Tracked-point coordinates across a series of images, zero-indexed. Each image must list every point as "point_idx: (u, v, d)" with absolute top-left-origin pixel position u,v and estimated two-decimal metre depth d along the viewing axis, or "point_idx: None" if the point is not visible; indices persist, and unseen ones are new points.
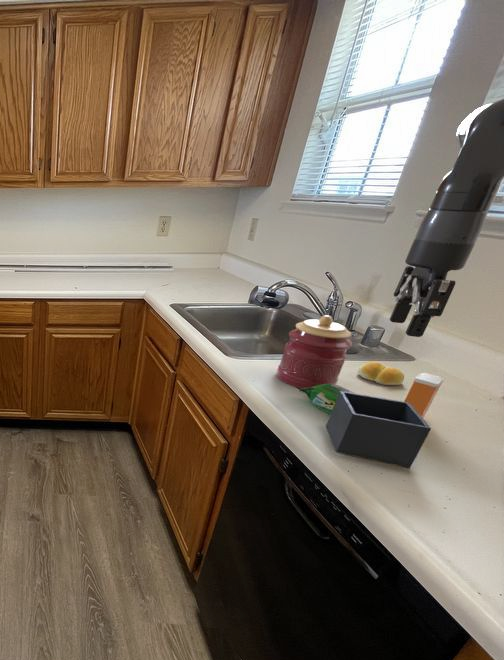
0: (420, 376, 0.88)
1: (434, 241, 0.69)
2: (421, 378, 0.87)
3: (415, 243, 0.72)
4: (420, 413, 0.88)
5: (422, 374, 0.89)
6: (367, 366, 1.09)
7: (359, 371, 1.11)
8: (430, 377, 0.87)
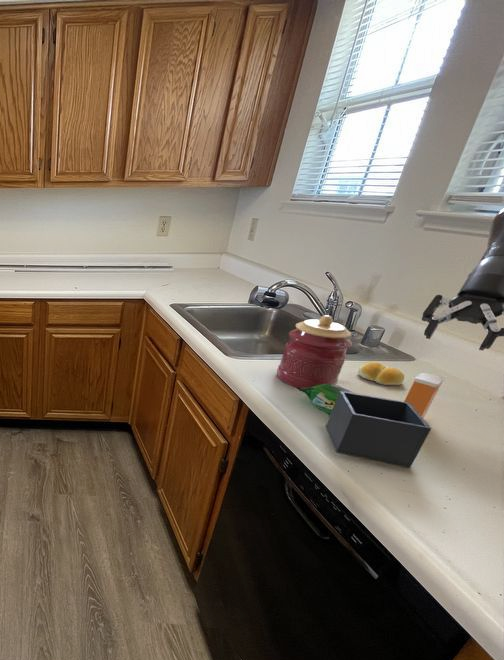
0: (420, 376, 0.88)
1: None
2: (421, 378, 0.87)
3: (495, 276, 0.89)
4: (420, 413, 0.88)
5: (422, 374, 0.89)
6: (367, 366, 1.09)
7: (359, 371, 1.11)
8: (430, 377, 0.87)
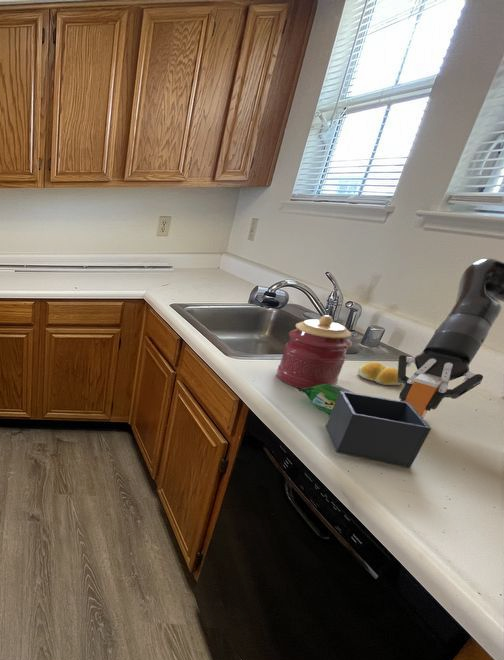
0: (420, 376, 0.88)
1: (477, 339, 0.86)
2: (421, 378, 0.87)
3: (460, 335, 0.87)
4: (420, 413, 0.88)
5: (422, 374, 0.89)
6: (367, 366, 1.09)
7: (359, 371, 1.11)
8: (430, 377, 0.87)
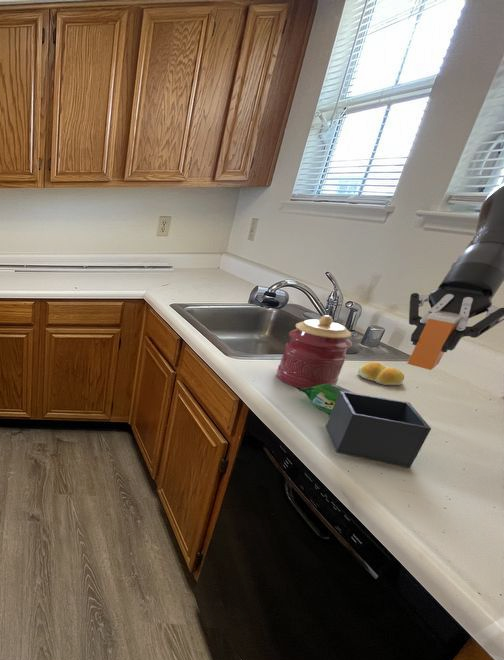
0: (435, 313, 0.77)
1: (501, 270, 0.75)
2: (437, 315, 0.76)
3: (481, 265, 0.76)
4: (435, 355, 0.77)
5: (438, 311, 0.78)
6: (367, 366, 1.09)
7: (359, 371, 1.11)
8: (447, 314, 0.77)
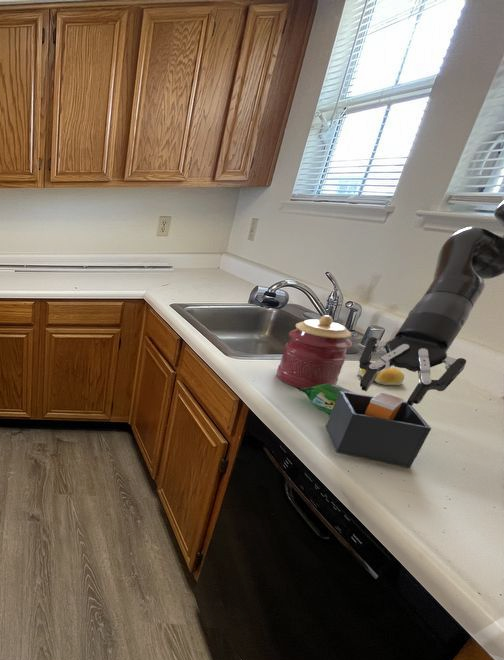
0: (377, 397, 0.78)
1: (456, 321, 0.74)
2: (378, 400, 0.77)
3: (436, 316, 0.74)
4: None
5: (380, 394, 0.79)
6: None
7: (359, 371, 1.11)
8: (388, 398, 0.78)
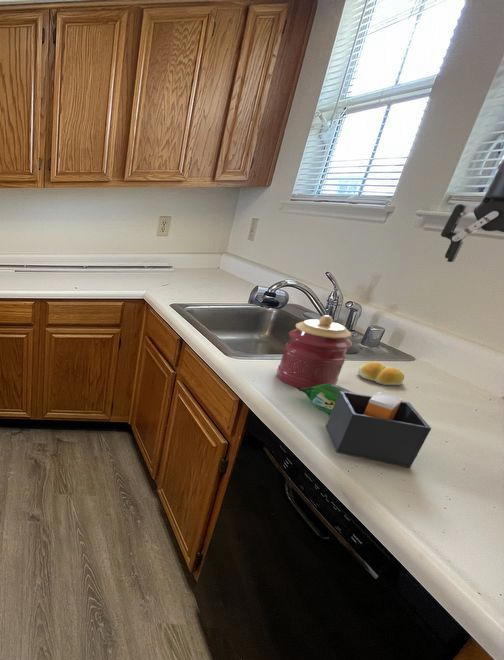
0: (376, 397, 0.78)
1: None
2: (376, 400, 0.77)
3: None
4: None
5: (378, 394, 0.79)
6: (367, 366, 1.09)
7: (359, 371, 1.11)
8: (387, 398, 0.78)
